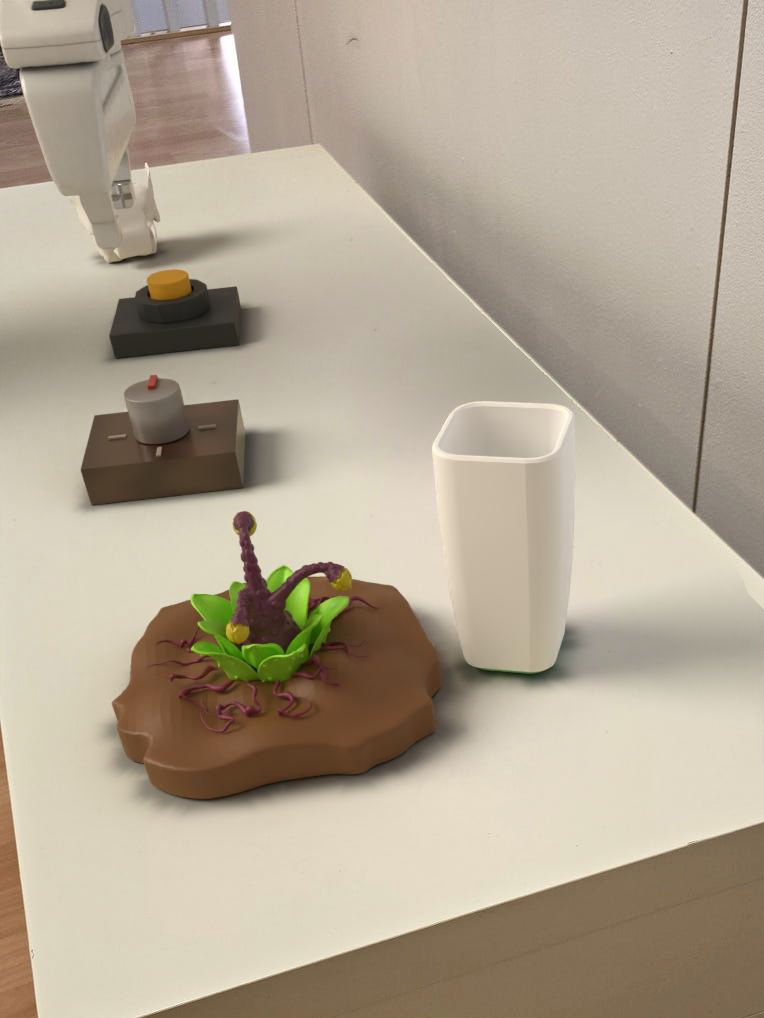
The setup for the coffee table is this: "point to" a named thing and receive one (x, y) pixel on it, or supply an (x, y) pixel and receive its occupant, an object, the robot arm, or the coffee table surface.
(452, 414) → the cup
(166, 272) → the button
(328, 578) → the plant
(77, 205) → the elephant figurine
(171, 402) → the dial
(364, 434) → the coffee table surface
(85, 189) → the robot arm
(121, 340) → the button housing
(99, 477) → the dial panel
